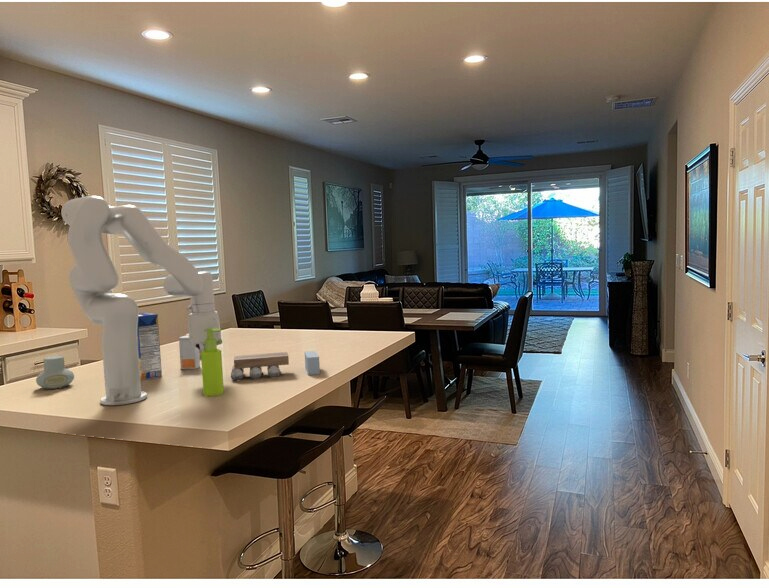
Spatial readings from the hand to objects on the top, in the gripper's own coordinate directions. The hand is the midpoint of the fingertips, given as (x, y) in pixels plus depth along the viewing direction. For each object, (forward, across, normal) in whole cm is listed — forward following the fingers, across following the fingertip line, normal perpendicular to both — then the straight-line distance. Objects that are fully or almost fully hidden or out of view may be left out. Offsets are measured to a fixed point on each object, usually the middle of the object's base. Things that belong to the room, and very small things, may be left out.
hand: (207, 362), depth 189 cm
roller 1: (+5, +8, 0) cm, 9 cm away
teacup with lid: (+7, -8, +51) cm, 52 cm away
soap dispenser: (+6, +4, -21) cm, 22 cm away
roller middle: (+5, +14, 0) cm, 15 cm away
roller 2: (+5, +20, 0) cm, 21 cm away
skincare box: (+6, -8, +23) cm, 25 cm away
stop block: (+6, +35, 0) cm, 36 cm away
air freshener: (+6, -50, +8) cm, 50 cm away
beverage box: (+6, -22, +15) cm, 27 cm away
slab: (+2, +18, 0) cm, 18 cm away
